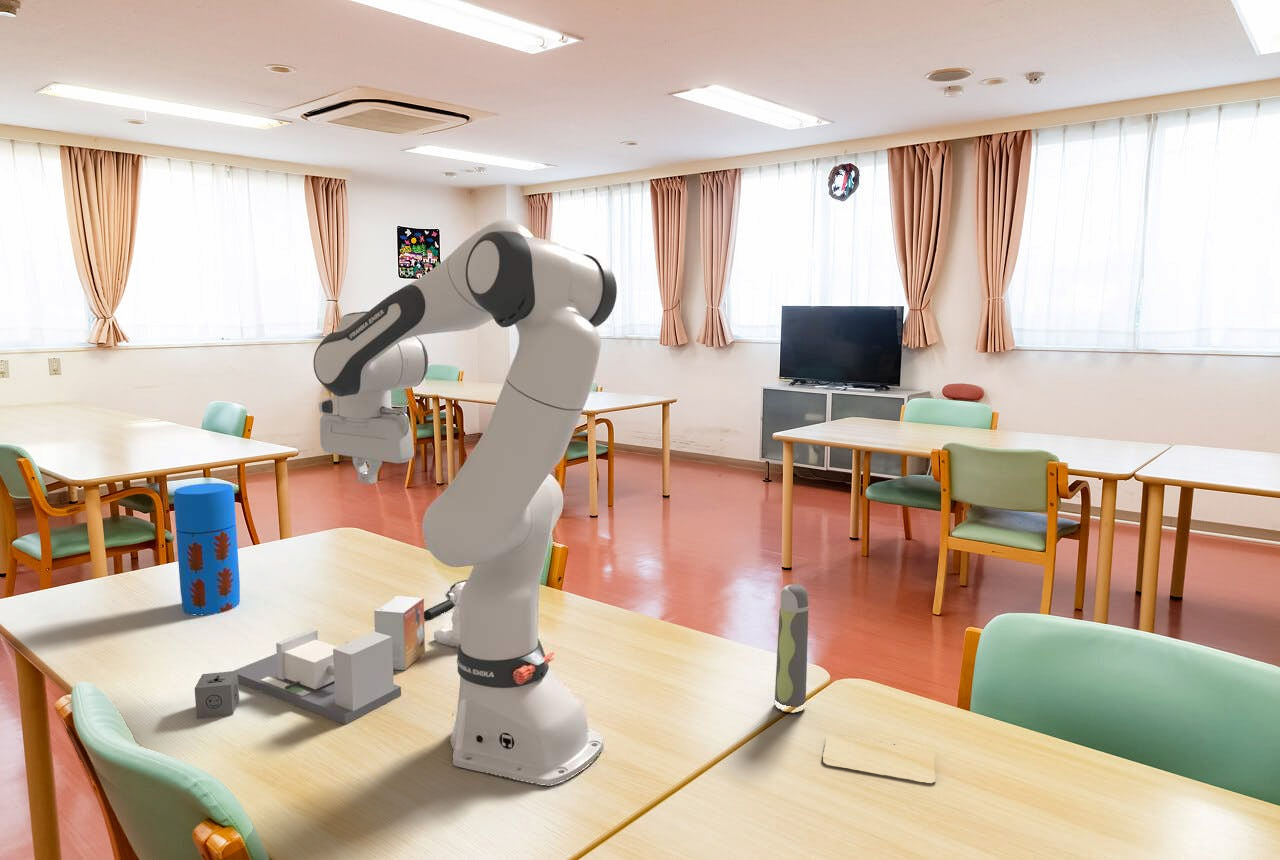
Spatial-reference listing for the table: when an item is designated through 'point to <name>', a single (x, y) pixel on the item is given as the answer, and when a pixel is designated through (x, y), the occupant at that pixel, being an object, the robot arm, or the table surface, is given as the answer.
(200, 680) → the dice cube
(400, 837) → the table surface
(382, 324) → the robot arm
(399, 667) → the small box
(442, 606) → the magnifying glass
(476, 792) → the table surface
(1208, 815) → the table surface
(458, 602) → the white creature statuette
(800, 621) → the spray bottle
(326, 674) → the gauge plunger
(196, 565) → the thermos
